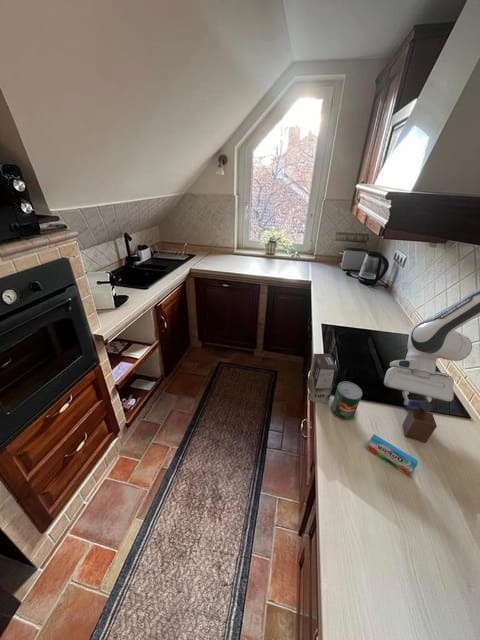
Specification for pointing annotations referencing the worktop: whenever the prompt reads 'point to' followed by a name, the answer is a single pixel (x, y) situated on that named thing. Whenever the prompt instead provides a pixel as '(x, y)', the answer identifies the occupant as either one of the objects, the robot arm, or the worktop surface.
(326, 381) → the coffee box
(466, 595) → the worktop surface
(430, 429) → the walnut block
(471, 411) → the worktop surface
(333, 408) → the canned tomato
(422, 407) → the dark blue flat piece
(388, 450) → the yogurt
